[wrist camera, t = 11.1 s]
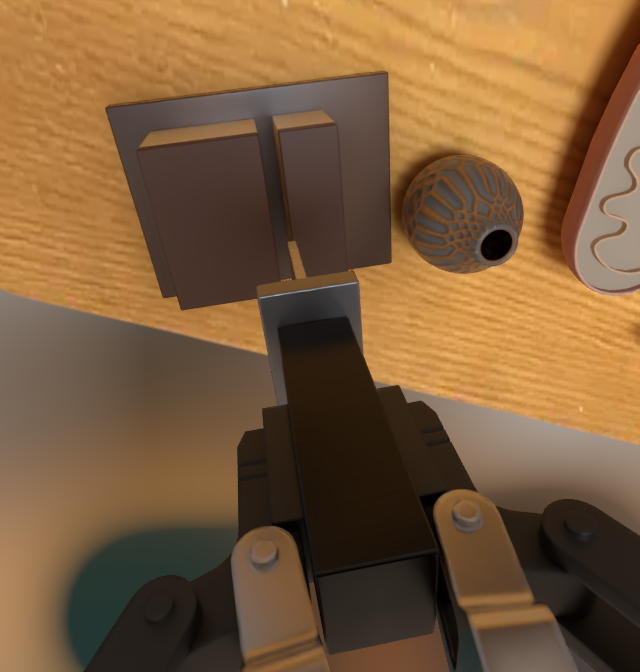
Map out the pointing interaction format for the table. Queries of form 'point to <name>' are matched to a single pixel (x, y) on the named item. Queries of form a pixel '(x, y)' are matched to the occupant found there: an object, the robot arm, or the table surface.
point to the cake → (211, 210)
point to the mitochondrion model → (609, 197)
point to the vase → (463, 214)
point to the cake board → (261, 104)
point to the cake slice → (312, 189)
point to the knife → (348, 466)
